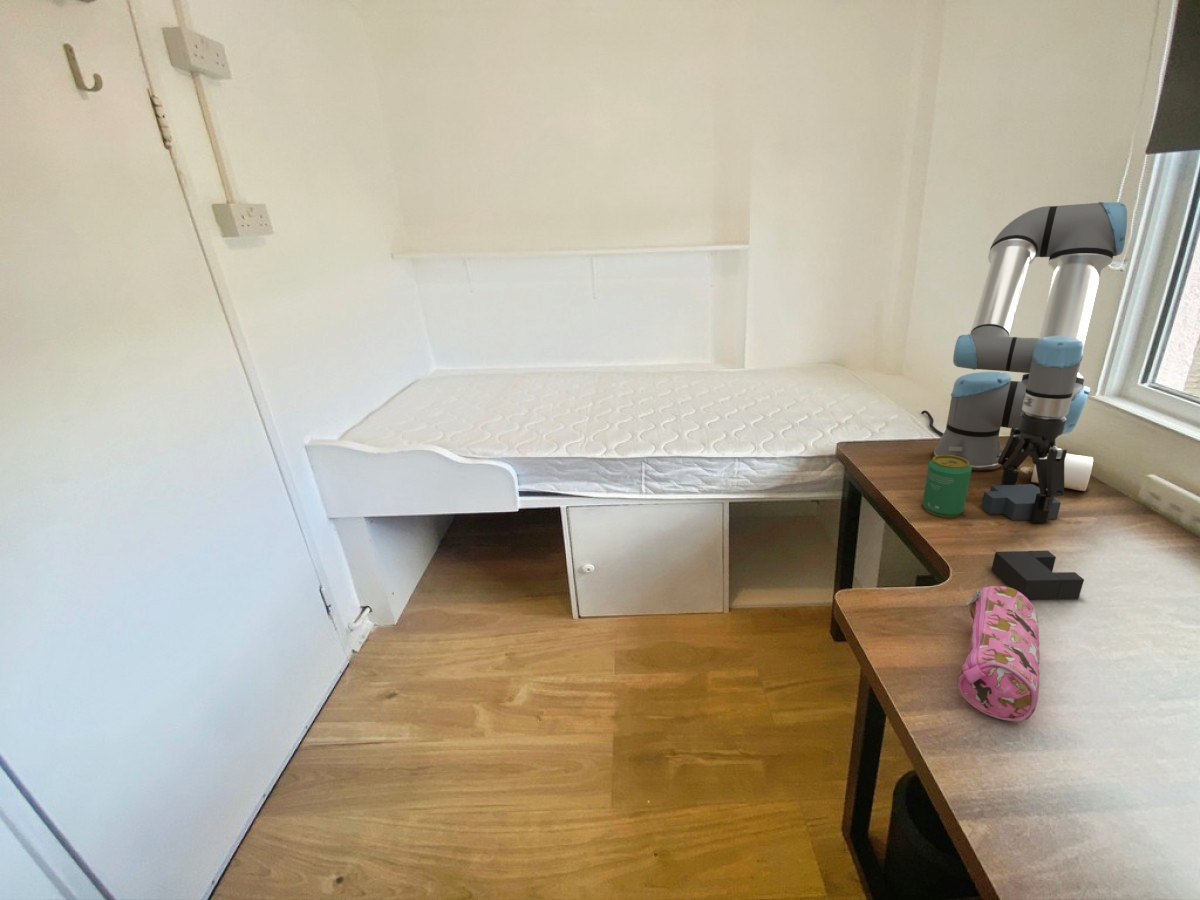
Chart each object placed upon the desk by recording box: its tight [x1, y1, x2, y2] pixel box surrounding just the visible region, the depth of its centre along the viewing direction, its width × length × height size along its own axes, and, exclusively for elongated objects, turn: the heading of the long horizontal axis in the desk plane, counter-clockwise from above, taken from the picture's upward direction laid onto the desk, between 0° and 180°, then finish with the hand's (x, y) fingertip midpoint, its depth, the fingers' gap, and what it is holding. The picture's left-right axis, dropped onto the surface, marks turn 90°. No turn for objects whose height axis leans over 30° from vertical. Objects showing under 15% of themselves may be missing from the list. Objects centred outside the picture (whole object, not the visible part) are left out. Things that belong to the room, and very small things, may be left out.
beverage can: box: [922, 455, 973, 518], centre depth 122 cm, size 8×8×12 cm
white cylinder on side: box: [1030, 452, 1094, 492], centre depth 130 cm, size 12×10×8 cm
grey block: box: [980, 483, 1062, 521], centre depth 121 cm, size 9×12×4 cm
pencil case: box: [956, 585, 1041, 723], centre depth 79 cm, size 21×9×9 cm, turn 146°
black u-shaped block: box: [991, 550, 1085, 601], centre depth 97 cm, size 9×9×4 cm
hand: (1021, 509), depth 121 cm, fingers open, 11 cm apart
